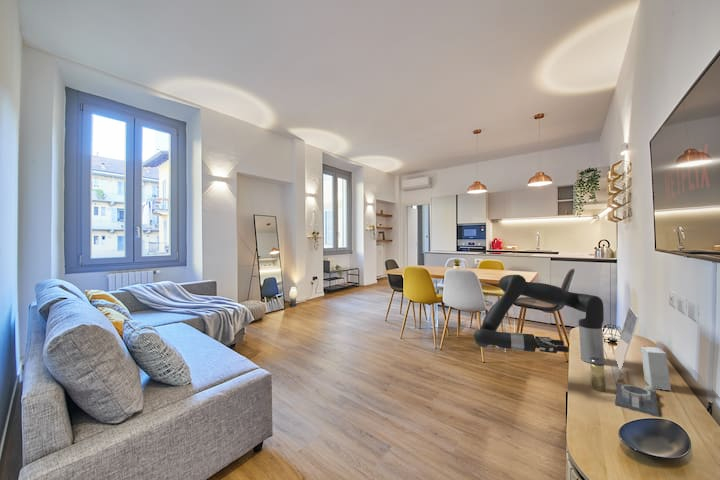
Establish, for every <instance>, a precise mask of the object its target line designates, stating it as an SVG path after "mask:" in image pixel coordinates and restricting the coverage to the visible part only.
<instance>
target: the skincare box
mask: <svg viewBox="0 0 720 480" xmlns="http://www.w3.org/2000/svg"><path fill="white" fill-rule="evenodd" d="M640 351H641V359H642V368H643V369H642V370H643V377H644V382H645V383H646V384H647V386H650V387H653V388H654V390H660V389H662V390H661V391H665V390H670V391H669V392H671V391H672V388H671V380H670V371H669V365H668V355H667V352H665V351H664V350H662V349H661V348H659V347H653V346H640Z"/></svg>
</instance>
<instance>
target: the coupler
mask: <svg viewBox="0 0 720 480" xmlns="http://www.w3.org/2000/svg"><path fill="white" fill-rule="evenodd" d="M589 364H590V365H589V367H590V380H591V381H590V382H591V389H592V390H594V391H596V392H598V393H599V392H600V393H604V392H606V391H607V390H606V389H607V388H606V375H605V359H604V360H603V359H600V358H595V357H591V358H590V363H589Z"/></svg>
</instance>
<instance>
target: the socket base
mask: <svg viewBox="0 0 720 480" xmlns="http://www.w3.org/2000/svg"><path fill="white" fill-rule="evenodd" d="M657 399H658V398H657V392H656V390H655V389H654V388H653V387H650V386H649V385H645V386H643V387H641V386H636V385H632V384H625V383H620V382H617V384H616V393H615V400H614V404H615V406H617V407H620V408H624V409H629V410H632V411H635V412H640V413H644V414H647V415H650V416H655V417H659V409H658V407H659V406H658V400H657Z"/></svg>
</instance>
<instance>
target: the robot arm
mask: <svg viewBox="0 0 720 480" xmlns="http://www.w3.org/2000/svg"><path fill="white" fill-rule="evenodd" d="M498 285H499V287H500V290H502V291H503V292H504V293H503V295H501V297H500V298H499V299H498V300H497V301H496V302H495V303H494V304H493V305H492V306H491V307H490V308H489V309H488V311H487V313H486V314H485V316H484V318H483V320H482V324H481V326H480V327H479V329H476V330H475V331H474V334H473V338H474V342H475V344H476V345H477V346H478V347H480V348H487V347H488V346H496V347H498V348H500V349H506V350H507V349H508V350H514V351H521V352H528V353H529V352H530V353H535V352H536V349H539V352H542V353H549V354H550V353H551V354H557V353H558V352H561V353H569V351H570V349H569V346H567V345H566V346H564V345H565V342H564V340H562V339H561V340H560V339H553V338H551V337H548V336H536V335H535V334H533V333H521V332H503V331H497V330H498V328H499V327H500V325H501V323H502V322H503V320H504V318H505V316H506V315H507V313H508V312H509V311H510V309H511V308H512V306H513V305H514V304H515V303H516V301H517V300H518V299H519V297H520V296H524V297H526V298H527V297H528V298H530V299H534V300H537V301H540V302H543V303H547V304H550V305H558V306H566V307H569V308H572V309H574V310H577V311H579V312H581V313H582V312H583V313H585V318H579V320H578V333H579V347H580V359H581V360H582V361H583V362H586V363H589V364H590V358H591V357H595V358H600V359H603V360H604V361H605V352H604V337H603V336H604V335H603V324H604V315H605V314H604V313H605V312H604V310H605V307H604V302H603V300H602V298H600V297H599V296H597V295H591V294H586V293H578V292H571V291H566V290H565V289H563V288H562V287H560V286H557V285H552V284H549V283H542V282H533V281H532V282H531V281H527V280H526V279H525V277H524V276H522V275H520V274H508V275H504V276H502V277H501V278H500V279H499V282H498Z"/></svg>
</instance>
